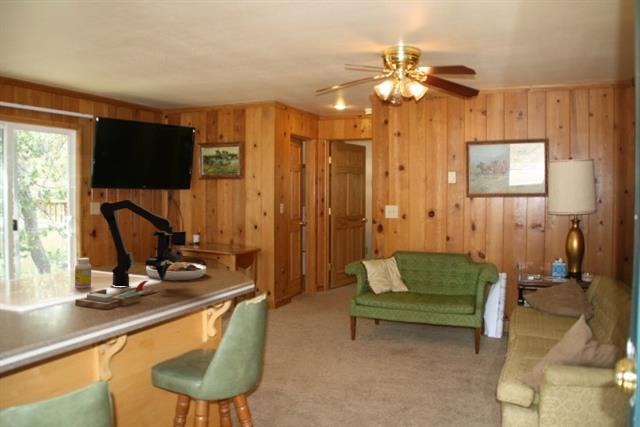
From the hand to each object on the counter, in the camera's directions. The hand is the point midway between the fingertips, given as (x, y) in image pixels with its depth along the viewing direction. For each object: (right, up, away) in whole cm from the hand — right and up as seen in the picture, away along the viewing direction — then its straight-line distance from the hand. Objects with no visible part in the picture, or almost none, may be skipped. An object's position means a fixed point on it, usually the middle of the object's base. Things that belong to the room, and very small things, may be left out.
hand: (162, 279), depth 239 cm
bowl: (-2, -3, +31) cm, 31 cm away
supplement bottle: (-33, -3, -7) cm, 34 cm away
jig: (-12, -5, -34) cm, 36 cm away
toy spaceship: (-6, -5, -21) cm, 22 cm away
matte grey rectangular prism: (-13, -6, -38) cm, 40 cm away
